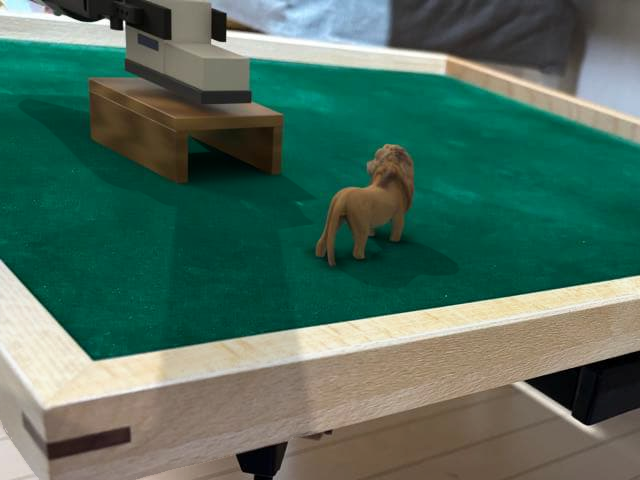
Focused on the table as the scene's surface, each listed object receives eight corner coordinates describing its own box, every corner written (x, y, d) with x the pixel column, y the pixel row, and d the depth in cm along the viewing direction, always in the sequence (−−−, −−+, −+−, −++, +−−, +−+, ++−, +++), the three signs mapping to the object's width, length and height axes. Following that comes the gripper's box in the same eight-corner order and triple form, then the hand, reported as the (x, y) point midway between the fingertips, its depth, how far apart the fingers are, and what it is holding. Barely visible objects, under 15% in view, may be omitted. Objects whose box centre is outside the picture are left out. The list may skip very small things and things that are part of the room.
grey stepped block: (124, 70, 88) (121, -16, 84) (175, 71, 92) (174, -12, 89) (201, 104, 82) (201, 13, 78) (251, 103, 86) (254, 16, 83)
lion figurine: (365, 228, 85) (374, 134, 81) (417, 241, 85) (429, 148, 80) (301, 274, 72) (308, 165, 68) (362, 289, 72) (373, 181, 67)
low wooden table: (91, 149, 90) (87, 77, 87) (196, 144, 99) (196, 77, 96) (176, 195, 83) (176, 118, 80) (280, 184, 92) (284, 114, 89)
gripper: (148, 20, 103) (273, 68, 92) (-19, 10, 89) (105, 66, 79) (146, -51, 100) (276, -9, 89) (-28, -72, 86) (101, -26, 75)
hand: (196, 26), depth 84 cm, fingers closed on grey stepped block, 5 cm apart
